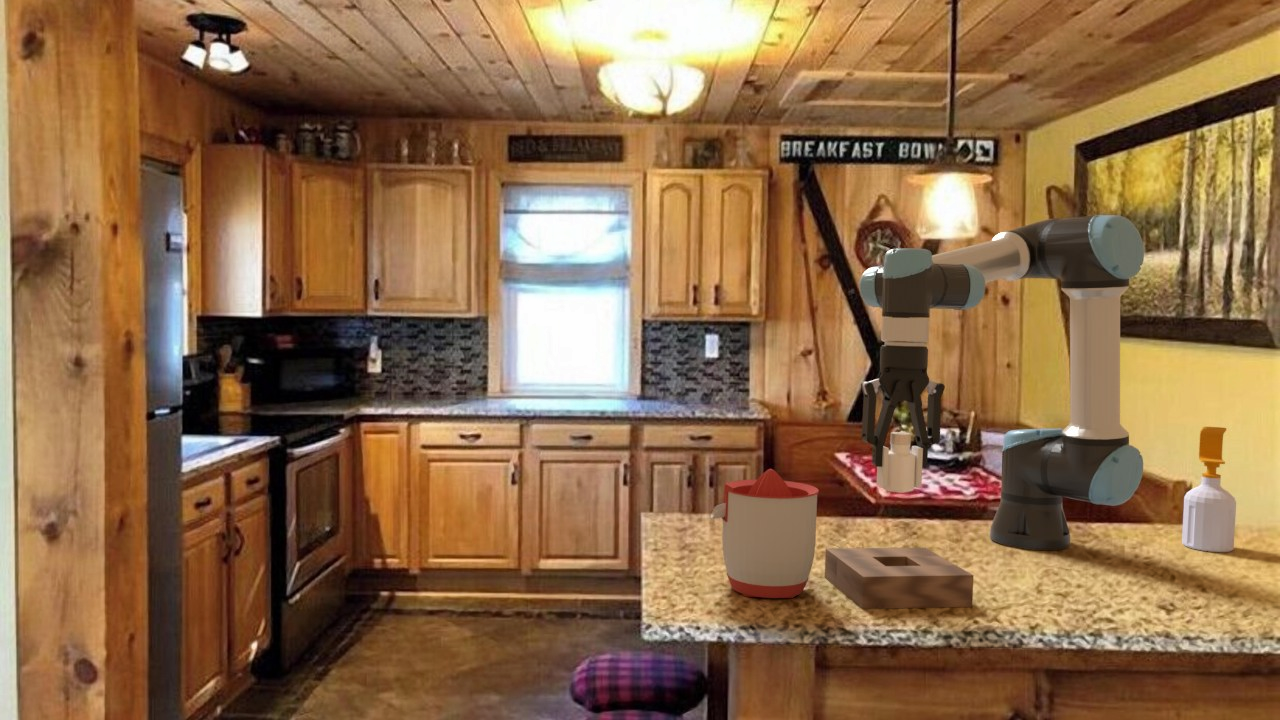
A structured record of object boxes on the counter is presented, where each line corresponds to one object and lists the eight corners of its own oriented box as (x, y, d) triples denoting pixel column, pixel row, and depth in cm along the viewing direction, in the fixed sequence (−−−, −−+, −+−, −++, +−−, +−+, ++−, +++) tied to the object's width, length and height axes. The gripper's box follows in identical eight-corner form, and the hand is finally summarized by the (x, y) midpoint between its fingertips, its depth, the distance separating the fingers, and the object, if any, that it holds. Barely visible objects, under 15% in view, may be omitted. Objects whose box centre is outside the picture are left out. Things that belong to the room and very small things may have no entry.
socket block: (924, 575, 175) (925, 547, 175) (972, 606, 157) (973, 575, 157) (824, 577, 173) (825, 548, 172) (862, 608, 155) (863, 576, 155)
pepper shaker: (894, 487, 167) (896, 431, 166) (915, 491, 164) (918, 433, 164) (881, 490, 164) (883, 432, 164) (903, 494, 161) (905, 435, 161)
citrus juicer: (706, 575, 172) (709, 459, 171) (808, 578, 171) (812, 462, 170) (710, 602, 156) (713, 475, 155) (822, 606, 156) (826, 478, 155)
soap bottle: (1185, 549, 200) (1191, 427, 199) (1179, 540, 208) (1185, 422, 207) (1236, 555, 196) (1243, 430, 195) (1229, 545, 205) (1235, 425, 204)
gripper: (947, 344, 168) (941, 482, 169) (842, 342, 165) (837, 482, 166) (967, 346, 160) (961, 490, 162) (858, 344, 158) (853, 490, 159)
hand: (898, 486), depth 164 cm, fingers closed on pepper shaker, 5 cm apart
